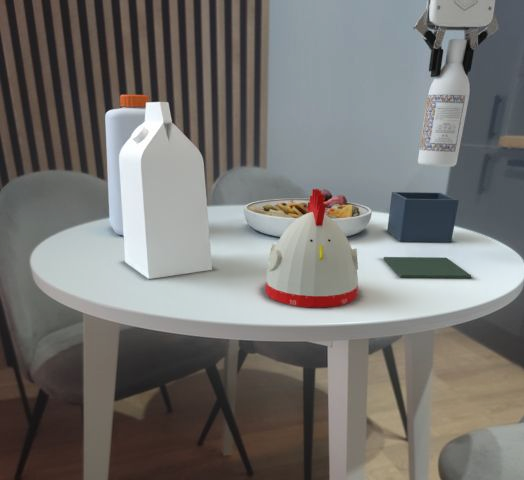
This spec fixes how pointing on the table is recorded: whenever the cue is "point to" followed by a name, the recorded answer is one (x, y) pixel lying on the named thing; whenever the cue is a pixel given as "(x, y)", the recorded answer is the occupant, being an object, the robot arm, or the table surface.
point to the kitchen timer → (313, 262)
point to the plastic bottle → (117, 134)
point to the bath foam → (446, 110)
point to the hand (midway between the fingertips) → (448, 75)
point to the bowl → (288, 210)
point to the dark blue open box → (422, 216)
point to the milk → (163, 199)
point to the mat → (425, 267)
